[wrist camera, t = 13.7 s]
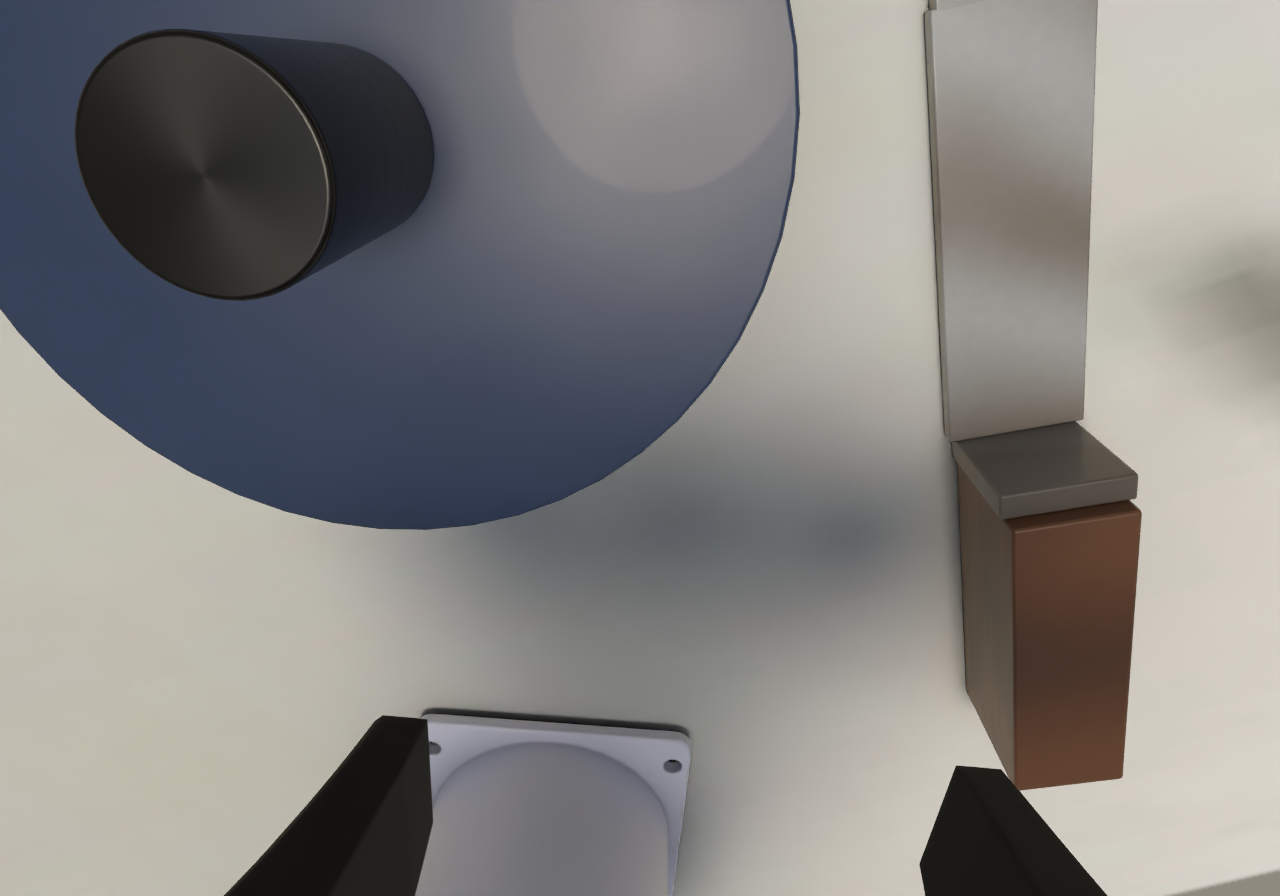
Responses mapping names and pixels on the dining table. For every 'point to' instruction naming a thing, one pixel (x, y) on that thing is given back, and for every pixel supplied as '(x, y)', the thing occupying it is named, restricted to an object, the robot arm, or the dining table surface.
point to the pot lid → (393, 233)
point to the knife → (1028, 387)
